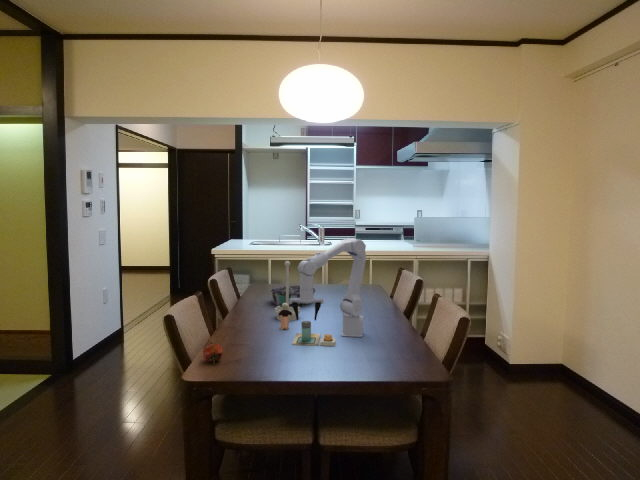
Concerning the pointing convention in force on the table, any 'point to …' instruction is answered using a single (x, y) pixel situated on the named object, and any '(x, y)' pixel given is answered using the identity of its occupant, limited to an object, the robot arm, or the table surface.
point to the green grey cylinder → (306, 331)
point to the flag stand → (287, 297)
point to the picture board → (298, 341)
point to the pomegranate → (213, 352)
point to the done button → (328, 337)
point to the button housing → (327, 342)
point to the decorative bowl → (280, 295)
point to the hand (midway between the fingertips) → (306, 319)
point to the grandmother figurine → (285, 316)
